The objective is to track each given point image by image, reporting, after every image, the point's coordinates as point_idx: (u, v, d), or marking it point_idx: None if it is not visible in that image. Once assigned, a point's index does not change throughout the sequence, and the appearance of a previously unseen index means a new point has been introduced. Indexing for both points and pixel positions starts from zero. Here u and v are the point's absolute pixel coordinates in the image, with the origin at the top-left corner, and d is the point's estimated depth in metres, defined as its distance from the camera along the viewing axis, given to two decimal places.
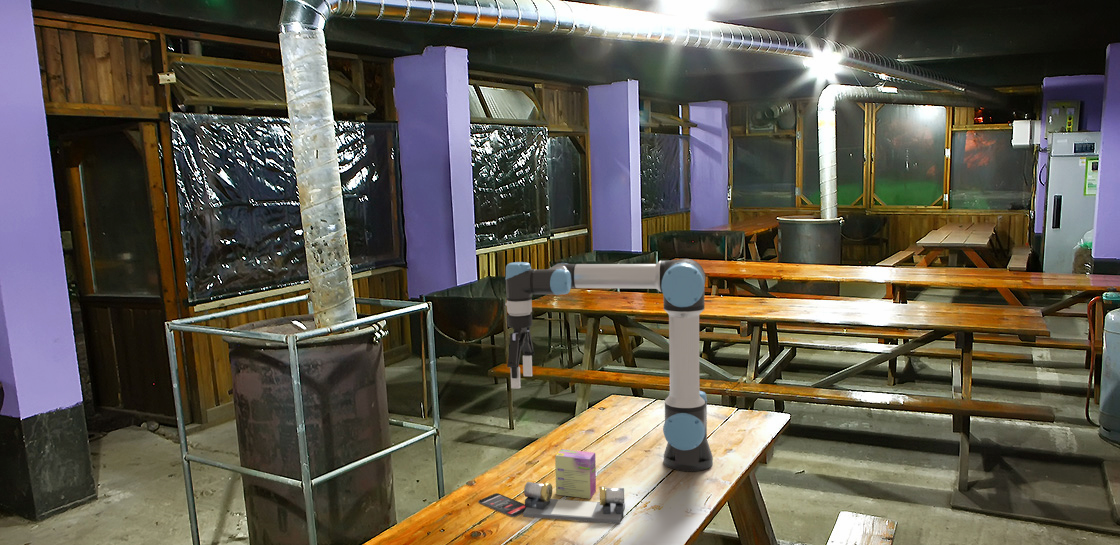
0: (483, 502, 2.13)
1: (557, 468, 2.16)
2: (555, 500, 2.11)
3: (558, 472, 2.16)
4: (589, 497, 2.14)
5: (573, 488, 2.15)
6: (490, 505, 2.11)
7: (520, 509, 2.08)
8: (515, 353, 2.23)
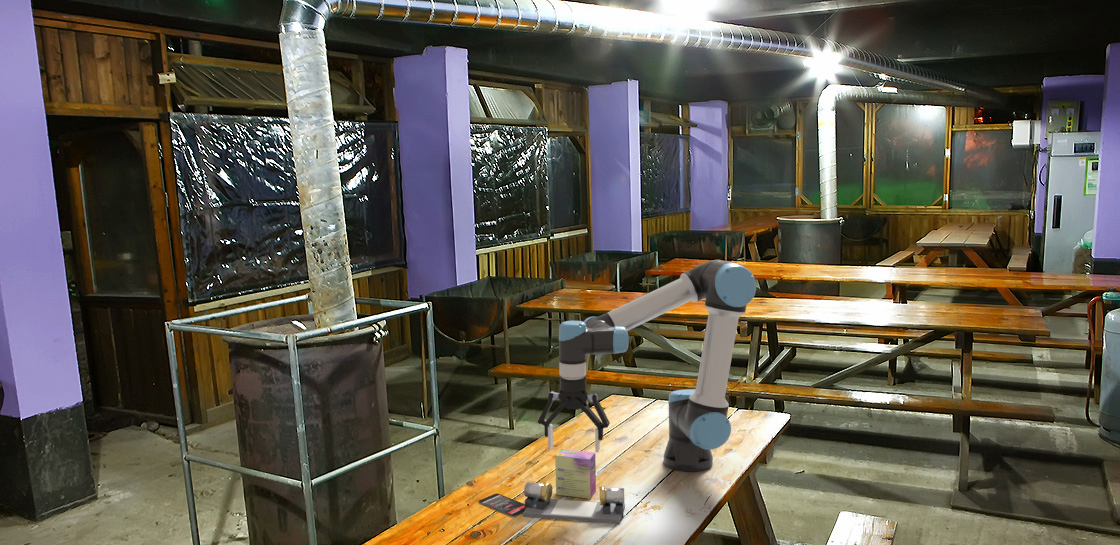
0: (483, 502, 2.13)
1: (557, 468, 2.16)
2: (555, 500, 2.11)
3: (558, 472, 2.16)
4: (589, 497, 2.14)
5: (573, 488, 2.15)
6: (490, 505, 2.11)
7: (520, 509, 2.08)
8: (543, 411, 2.16)
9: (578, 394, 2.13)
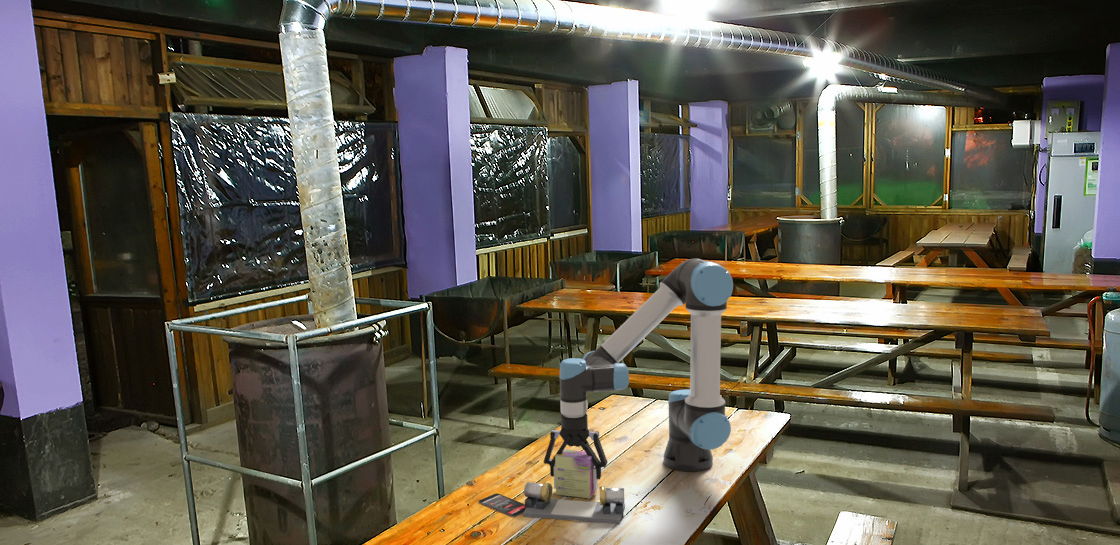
0: (483, 502, 2.13)
1: (557, 468, 2.16)
2: (555, 500, 2.11)
3: (558, 472, 2.16)
4: (589, 497, 2.14)
5: (573, 487, 2.15)
6: (490, 505, 2.11)
7: (520, 509, 2.08)
8: (547, 450, 2.17)
9: (580, 431, 2.14)
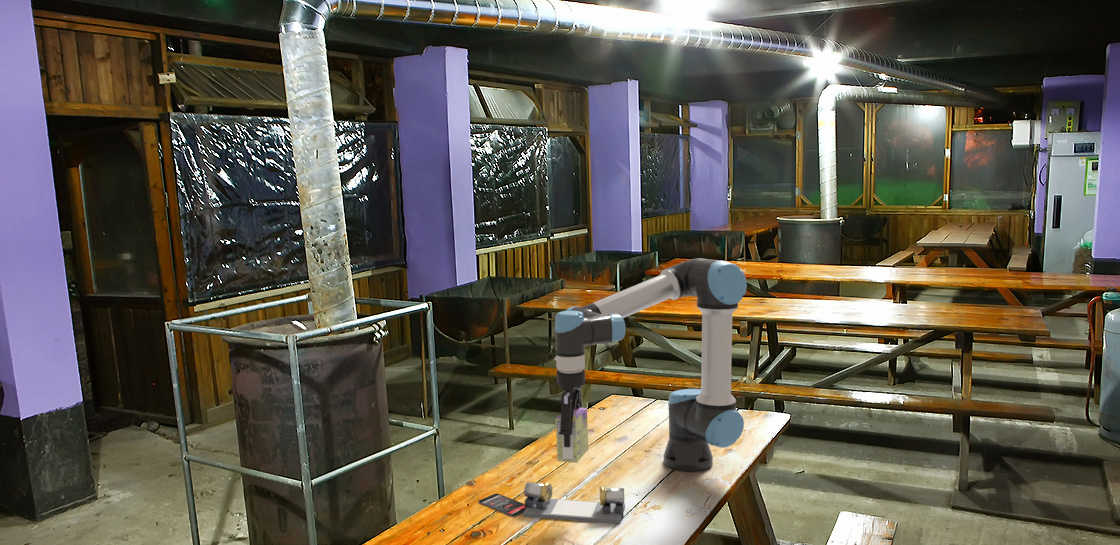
0: (483, 502, 2.13)
1: (576, 432, 1.98)
2: (555, 500, 2.11)
3: (577, 436, 1.98)
4: None
5: (583, 446, 2.03)
6: (490, 505, 2.11)
7: (520, 509, 2.08)
8: (568, 419, 1.94)
9: None
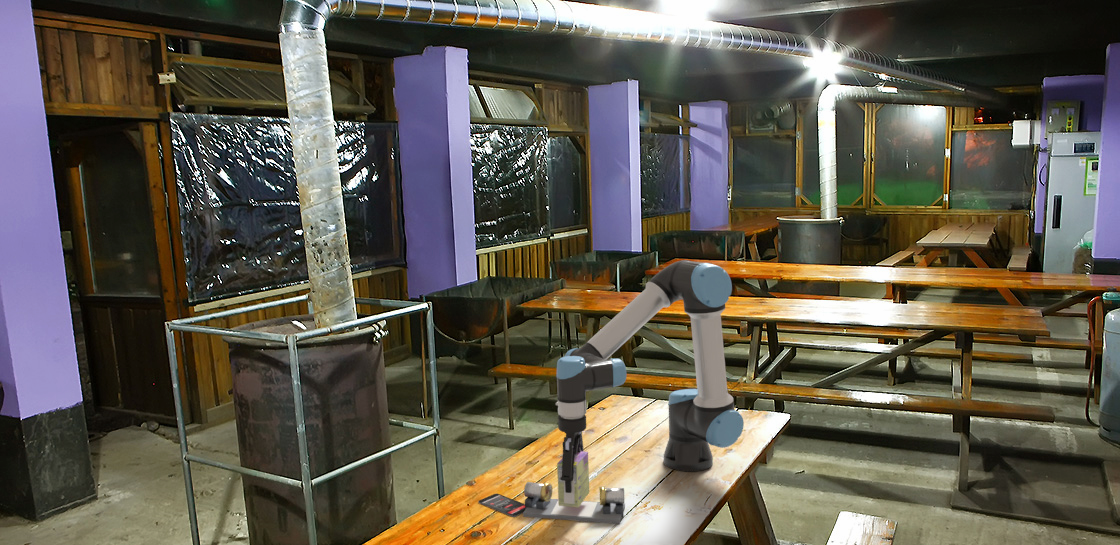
0: (483, 502, 2.13)
1: (578, 478, 1.99)
2: (555, 500, 2.11)
3: (578, 481, 2.00)
4: None
5: (584, 490, 2.04)
6: (490, 505, 2.11)
7: (521, 508, 2.08)
8: (569, 465, 1.96)
9: None
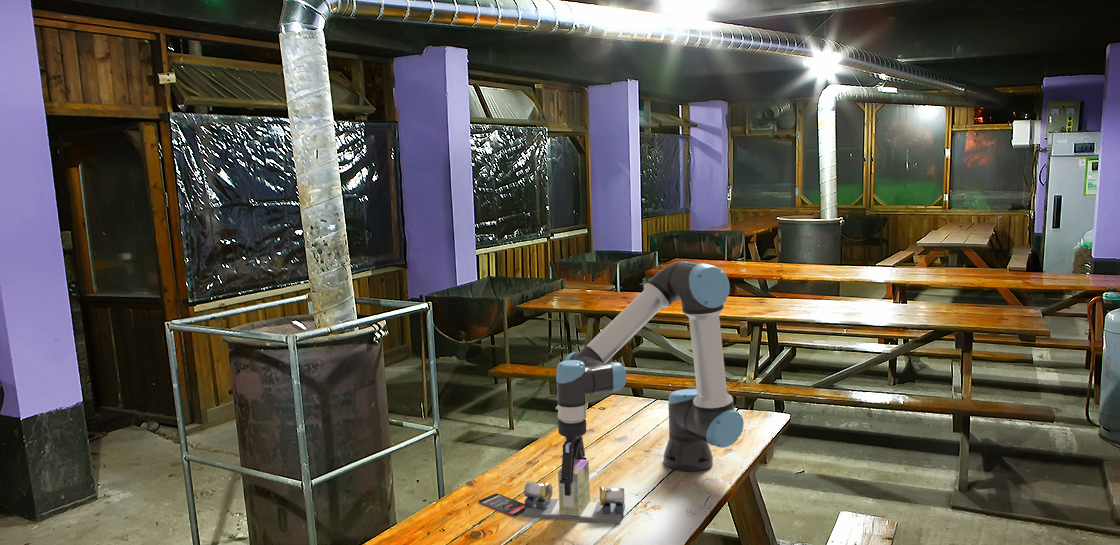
0: (483, 502, 2.13)
1: (579, 486, 2.00)
2: (555, 500, 2.11)
3: (579, 490, 2.00)
4: (589, 499, 2.10)
5: (584, 498, 2.05)
6: (490, 505, 2.11)
7: (521, 509, 2.08)
8: (569, 468, 1.95)
9: None
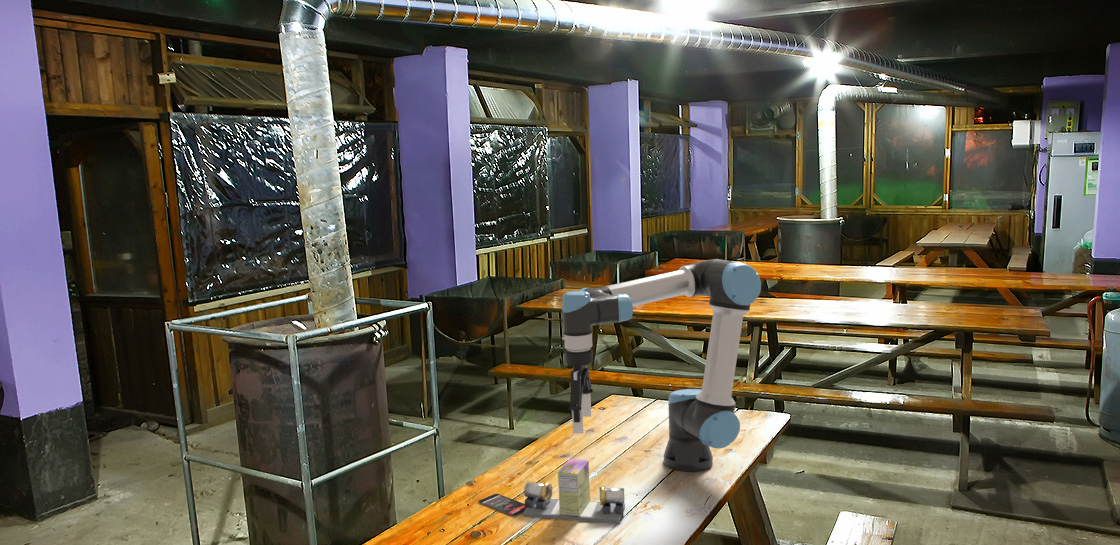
0: (483, 502, 2.13)
1: (579, 486, 2.00)
2: (555, 500, 2.11)
3: (579, 490, 2.00)
4: (589, 499, 2.10)
5: (584, 498, 2.05)
6: (490, 505, 2.11)
7: (521, 508, 2.08)
8: (578, 395, 1.99)
9: None
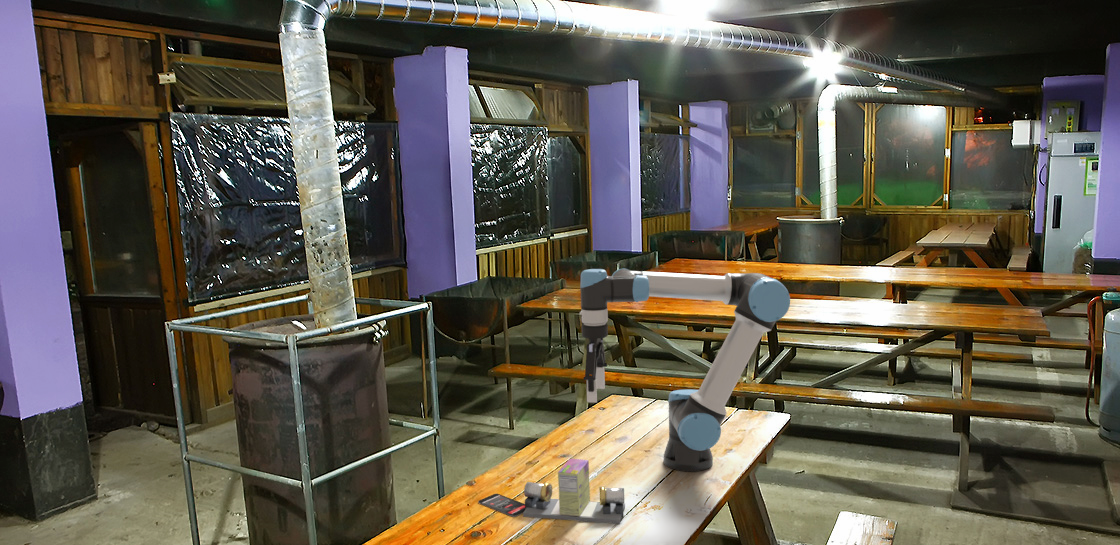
0: (483, 502, 2.13)
1: (579, 486, 2.00)
2: (555, 500, 2.11)
3: (579, 490, 2.00)
4: (589, 499, 2.10)
5: (584, 498, 2.05)
6: (490, 505, 2.11)
7: (521, 508, 2.08)
8: (592, 365, 2.11)
9: (599, 338, 2.21)
